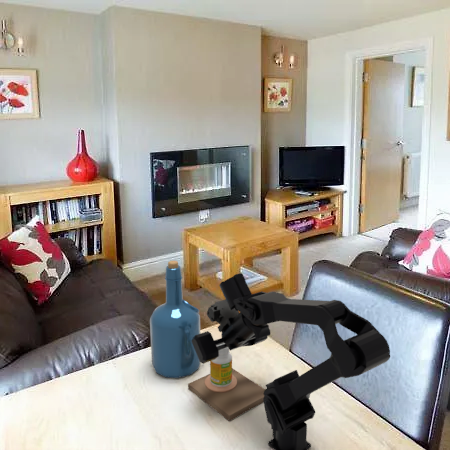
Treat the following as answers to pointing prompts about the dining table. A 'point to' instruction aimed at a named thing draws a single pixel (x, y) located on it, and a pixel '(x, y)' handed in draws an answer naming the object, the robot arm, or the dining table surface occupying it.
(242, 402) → the walnut board
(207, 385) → the coaster
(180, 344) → the wine bottle
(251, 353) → the dining table surface
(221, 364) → the supplement bottle
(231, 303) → the robot arm
